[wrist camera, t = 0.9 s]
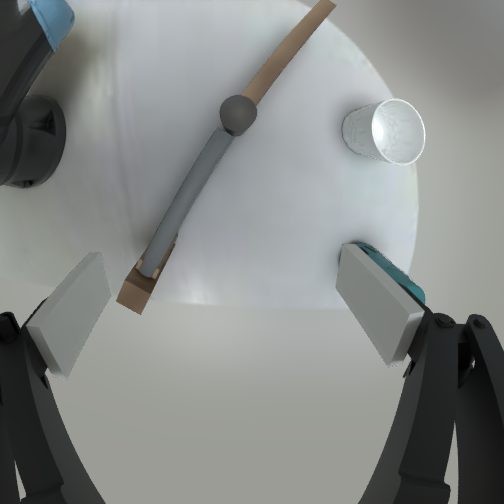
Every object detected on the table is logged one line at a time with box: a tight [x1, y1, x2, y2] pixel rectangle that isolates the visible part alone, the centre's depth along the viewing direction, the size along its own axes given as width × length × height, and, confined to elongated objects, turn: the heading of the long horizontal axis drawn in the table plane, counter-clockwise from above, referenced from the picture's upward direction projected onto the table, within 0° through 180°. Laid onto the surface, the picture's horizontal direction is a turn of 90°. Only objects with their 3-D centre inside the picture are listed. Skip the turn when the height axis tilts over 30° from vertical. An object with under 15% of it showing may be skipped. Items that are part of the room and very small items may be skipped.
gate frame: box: [116, 0, 336, 315], centre depth 27 cm, size 3×38×14 cm, turn 147°
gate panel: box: [136, 128, 234, 279], centre depth 29 cm, size 16×2×12 cm, turn 147°
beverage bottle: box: [356, 243, 431, 311], centre depth 32 cm, size 6×7×20 cm
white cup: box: [342, 98, 425, 165], centre depth 29 cm, size 8×8×10 cm
